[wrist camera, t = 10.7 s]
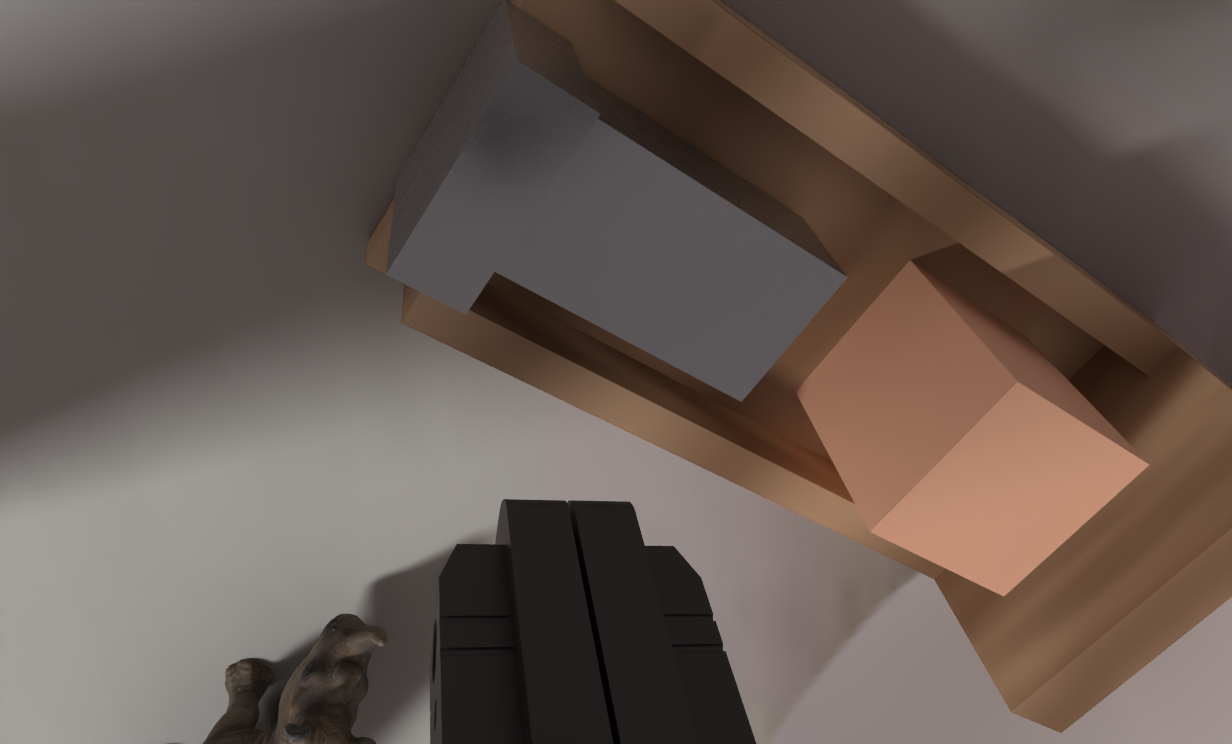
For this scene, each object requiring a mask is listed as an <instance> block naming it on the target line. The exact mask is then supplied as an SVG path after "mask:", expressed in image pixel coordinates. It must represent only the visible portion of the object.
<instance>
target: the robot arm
mask: <svg viewBox="0 0 1232 744" xmlns="http://www.w3.org/2000/svg"><path fill="white" fill-rule="evenodd" d="M430 711H431V714H430V743H431V744H756V742H755V739H754V736H753V733H752V730H751V727H750V724H749V721H748V718H747V715H746V712H745V709H744V706H743V703H742V700H741V696H740V693H739V690H738V687H737V684H736V681H735V678H734V675H733V672H732V669H731V666H730V663H729V660H728V657H727V654H726V651H724V652H723V642H722V639H721V636H720V633H719V630H718V627H717V624H716V621H713V612H712V609H711V606H710V603H709V600H708V597H707V594H706V591H705V588H704V585H703V582H702V579H701V577H700V576H699V575H698V574H697V573H696V571H695V570H694V569H693V568H692V567H691V566H690V565H689V563H688V562H687V561H686V560H685V559H684V558H683V556H682V555H681V554H680V553H679V552H678V551H677V550H676V548H675V547H674V546H645V545H644V542H643V538H642V535H641V531H640V527H639V524H638V520H637V516H636V513H635V510H634V507H633V505H632V504H631V503H630V502H615V501H568V502H567V503H566V501H556V500H510V499H504V500H503V501H502V503H501V507H500V513H499V520H498V528H497V535H496V543H495V545H490V544H457V545H456V547H455V549H454V551H453V553H452V554H451V556H450V558H449V560H448V562H447V563H446V565H445V567H444V569H443V571H442V572H441V574H440V576H439V581H438V591H437V602H436V612H435V623H434V633H433V644H432V654H431V664H430Z"/></svg>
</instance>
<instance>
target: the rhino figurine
mask: <svg viewBox="0 0 1232 744" xmlns="http://www.w3.org/2000/svg"><path fill="white" fill-rule="evenodd" d="M386 642H387V636H386V633H385V631H384V630H383V629H382V628H380V627H377V626H367V625H365V624H364V623H363V622H362V621H361V620H360V618H359V617H357V616H356V615H353V614H340V615H338V616H336V617H335V618H334V619H332V620H331V621H330V622H329V623H328V624H327V626H326V627H325V629H324V630H323V632H322V634H321V635H320V637H319V639H318V640H317V642H316V643H315V645H314V646H313V648H312V649H311V651H310V652H309V654H308V655H307V656H306V657H305V658H304V659H303V660H302V662H301V663H300V664H299V665H298V667H297V668H296V669H295V671H294V672H293V674H292V676H291V677H290V679H289V680H288V682H287V684H286V686H285V688H284V690H283V693H282V695H281V698H280V703H279V706H278V707H277V708H276V710H275V712H274V713H273V715H272V718H271V722H270V729H269V730H267V731H263V730H258V729H254V727H255V725H256V723H257V720H258V718H259V705H258V703H259V700H260V699H261V697H262V696H263V694H264V693H265V692H266V690H267V688H268V686H269V684H270V682H271V680H272V677H273V676H272V672H271V671H270V670H269V669H268V668H267V667H262V666H260V665H259V664H258V662H257V661H255V660H253V659H243V660H240V661H239V662H237V663H235V664H232V665H230V666H229V667H228V668H227V669H226V682H225V686H226V689H227V691H228V693H229V706H228V709H227V712H226V713H225V714H224V715H223V716H222V717H221V719H220V720H219V721H218V722H217V723H216V725H215V726H214V727H213V729H212V730H211V732H210V733H209V735H208V737H207V739H206V740H205V742H204V743H203V744H376V743H375V741H374V740H372V739H370V738H366V737H360V738H355V737H354V736H353V735H352V734H351V727H352V726H353V724H354V722H355V720H356V716H357V708H358V704H359V702H360V701H361V700H362V699H363V698H364V697H365V695H366V693H367V691H368V679H367V674H366V672H367V666H368V662H369V659H370V656H371V653H372V651H373V649H374V648H375V647H376V646H377V645H378V646H384V645H385V644H386Z"/></svg>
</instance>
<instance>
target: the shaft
mask: <svg viewBox="0 0 1232 744" xmlns="http://www.w3.org/2000/svg"><path fill="white" fill-rule="evenodd" d="M494 272H496V273H498V274H500V275H502V276H504V277H506V278H508V279H510V280H511V281H513V282H515V283H517V284H519V285H521V286H523V287H525V288H527V289H528V290H530V291H532V292H534V293H536V294H538V295H540V296H542V297H544V298H546V299H547V300H549V301H551V302H553V303H555V304H557V305H559V306H561V307H563V308H564V309H566V310H568V311H570V312H572V313H574V314H576V315H578V316H580V317H582V318H583V319H585V320H587V321H589V322H591V323H593V324H595V325H597V326H599V327H600V328H602V329H604V330H606V331H608V332H610V333H612V334H614V335H616V336H617V337H619V338H621V339H623V340H625V341H627V342H629V343H631V344H633V345H635V346H636V347H638V348H640V349H642V350H644V351H646V352H648V353H650V354H652V355H653V356H655V357H657V358H659V359H661V360H663V361H665V362H667V363H669V364H670V365H672V366H674V367H676V368H678V369H680V370H682V371H684V372H686V373H688V374H689V375H691V376H693V377H695V378H697V379H699V380H701V381H703V382H705V383H706V384H708V385H710V386H712V387H714V388H716V389H718V390H720V391H722V392H723V393H725V394H727V395H729V396H731V397H733V398H735V399H737V400H739V401H741V402H742V401H743V400H744V399H745V397H746V396H747V395H748V394H749V393H750V391H751V390H752V389H753V388H754V387H755V386H756V384H757V383H758V382H759V381H760V380H761V379H762V377H763V376H764V375H765V374H766V373H767V372H768V370H769V369H770V368H771V367H772V366H773V365H774V363H775V362H776V361H777V360H778V359H779V357H780V356H781V355H782V354H783V353H784V352H785V350H786V349H787V348H788V347H789V346H790V345H791V343H792V342H793V341H794V340H795V339H796V338H797V336H798V335H799V334H800V333H801V332H802V331H803V329H804V328H805V327H806V326H807V325H808V324H809V322H810V321H811V320H812V319H813V318H814V316H815V315H816V314H817V313H818V312H819V311H820V309H821V308H822V307H823V306H824V305H825V304H826V302H827V301H828V300H829V299H830V298H831V297H832V295H833V294H834V293H835V292H836V291H837V290H838V288H839V287H840V286H841V285H842V284H843V282H844V281H845V280H846V279H847V278H848V277H847V276H846V274H845V273H844V272H843V270H842V269H841V268H840V266H839V265H838V264H837V262H836V261H835V260H834V258H833V257H832V256H831V254H830V253H829V252H828V250H827V249H826V247H825V246H824V245H823V243H822V242H821V241H820V239H819V238H818V237H817V235H816V234H815V233H814V231H813V230H812V229H811V227H810V226H809V225H808V223H807V222H806V221H805V219H804V218H803V217H801V216H800V215H798V214H796V213H795V212H793V211H792V210H790V209H789V208H787V207H786V206H784V205H783V204H781V203H780V202H778V201H777V200H775V199H774V198H772V197H770V196H769V195H767V194H766V193H764V192H763V191H761V190H760V189H758V188H757V187H755V186H754V185H752V184H751V183H749V182H747V181H746V180H744V179H743V178H741V177H740V176H738V175H737V174H735V173H734V172H732V171H731V170H729V169H728V168H726V167H725V166H723V165H721V164H720V163H718V162H717V161H715V160H714V159H712V158H711V157H709V156H708V155H706V154H705V153H703V152H702V151H700V150H699V149H697V148H695V147H694V146H692V145H691V144H689V143H688V142H686V141H685V140H683V139H682V138H680V137H679V136H677V135H676V134H674V133H673V132H671V131H669V130H668V129H666V128H665V127H663V126H662V125H660V124H659V123H657V122H656V121H654V120H653V119H651V118H650V117H648V116H647V115H645V114H643V113H642V112H640V111H639V110H637V109H636V108H634V107H633V106H631V105H630V104H628V103H627V102H625V101H624V100H622V99H621V98H619V97H617V96H616V95H614V94H613V93H611V92H610V91H608V90H607V89H605V88H604V87H602V86H601V85H599V84H598V83H596V82H594V81H593V80H591V79H590V78H588V77H587V76H585V74H584V72H583V69H582V67H581V65H580V62H579V60H578V57H577V55H576V52H575V50H574V47H573V45H572V43H571V42H570V41H568V40H567V39H565V38H564V37H562V36H561V35H559V34H558V33H556V32H555V31H553V30H552V29H550V28H549V27H547V26H546V25H544V24H543V23H541V22H540V21H538V20H537V19H535V18H534V17H532V16H531V15H529V14H528V13H526V12H525V11H523V10H522V9H520V8H519V7H517V6H516V5H514V4H513V3H511V2H510V1H508V0H502V2H501V4H500V5H499V7H498V9H497V10H496V12H495V14H494V15H493V17H492V19H491V20H490V22H489V24H488V26H487V27H486V29H485V31H484V32H483V34H482V36H481V37H480V39H479V41H478V42H477V44H476V46H475V47H474V49H473V51H472V52H471V54H470V56H469V58H468V59H467V61H466V63H465V64H464V66H463V68H462V69H461V71H460V73H459V74H458V76H457V78H456V79H455V81H454V83H453V84H452V86H451V88H450V90H449V91H448V93H447V95H446V96H445V98H444V100H443V101H442V103H441V105H440V106H439V108H438V110H437V111H436V113H435V115H434V116H433V118H432V120H431V121H430V123H429V125H428V127H427V128H426V130H425V132H424V133H423V135H422V137H421V138H420V140H419V142H418V143H417V145H416V147H415V148H414V150H413V152H412V153H411V155H410V157H409V159H408V160H407V162H406V164H405V165H404V167H403V169H402V170H401V172H400V174H399V175H398V177H397V180H396V189H395V197H394V206H393V215H392V224H391V233H390V242H389V250H388V259H387V268H386V275H387V276H389V277H391V278H393V279H395V280H397V281H399V282H401V283H403V284H405V285H407V286H409V287H411V288H413V289H415V290H417V291H419V292H421V293H423V294H425V295H427V296H429V297H431V298H433V299H435V300H437V301H439V302H441V303H443V304H445V305H447V306H449V307H451V308H453V309H455V310H457V311H459V312H461V313H463V314H465V315H466V314H467V312H468V311H469V309H470V308H471V306H472V305H473V303H474V302H475V300H476V299H477V297H478V296H479V294H480V293H481V291H482V290H483V288H484V287H485V285H486V284H487V282H488V281H489V279H490V278H491V276H492V275H493V273H494Z"/></svg>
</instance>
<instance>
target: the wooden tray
mask: <svg viewBox="0 0 1232 744" xmlns="http://www.w3.org/2000/svg"><path fill="white" fill-rule="evenodd" d="M511 3H513V4H514V5H516V6H517V7H519V8H520V9H522V10H523V11H525V12H526V13H528V14H529V15H531V16H532V17H534V18H535V19H537V20H538V21H540V22H541V23H543V24H544V25H546V26H547V27H549V28H550V29H552V30H553V31H555V32H556V33H558V34H559V35H561V36H562V37H564V38H565V39H567V40H568V41H570V42H571V43H572V45H573V47H574V50H575V52H576V55H577V57H578V60H579V62H580V65H581V67H582V69H583V72H584V74H585V76H587V77H588V78H590V79H591V80H593V81H594V82H596V83H598V84H599V85H601V86H602V87H604V88H605V89H607V90H608V91H610V92H611V93H613V94H614V95H616V96H617V97H619V98H621V99H622V100H624V101H625V102H627V103H628V104H630V105H631V106H633V107H634V108H636V109H637V110H639V111H640V112H642V113H643V114H645V115H647V116H648V117H650V118H651V119H653V120H654V121H656V122H657V123H659V124H660V125H662V126H663V127H665V128H666V129H668V130H669V131H671V132H673V133H674V134H676V135H677V136H679V137H680V138H682V139H683V140H685V141H686V142H688V143H689V144H691V145H692V146H694V147H695V148H697V149H699V150H700V151H702V152H703V153H705V154H706V155H708V156H709V157H711V158H712V159H714V160H715V161H717V162H718V163H720V164H721V165H723V166H725V167H726V168H728V169H729V170H731V171H732V172H734V173H735V174H737V175H738V176H740V177H741V178H743V179H744V180H746V181H747V182H749V183H751V184H752V185H754V186H755V187H757V188H758V189H760V190H761V191H763V192H764V193H766V194H767V195H769V196H770V197H772V198H774V199H775V200H777V201H778V202H780V203H781V204H783V205H784V206H786V207H787V208H789V209H790V210H792V211H793V212H795V213H796V214H798V215H800V216H801V217H803V218H804V219H805V221H806V222H807V223H808V225H809V226H810V227H811V229H812V230H813V231H814V233H815V234H816V235H817V237H818V238H819V239H820V241H821V242H822V243H823V245H824V246H825V247H826V249H827V250H828V252H829V253H830V254H831V256H832V257H833V258H834V260H835V261H836V262H837V264H838V265H839V266H840V268H841V269H842V270H843V272H844V273H845V274H846V276H847V277H848V278H847V279H846V280H845V281H844V282H843V284H842V285H841V286H840V287H839V288H838V290H837V291H836V292H835V293H834V294H833V295H832V297H831V298H830V299H829V300H828V301H827V302H826V304H825V305H824V306H823V307H822V308H821V309H820V311H819V312H818V313H817V314H816V315H815V316H814V318H813V319H812V320H811V321H810V322H809V324H808V325H807V326H806V327H805V328H804V329H803V331H802V332H801V333H800V334H799V335H798V336H797V338H796V339H795V340H794V341H793V342H792V343H791V345H790V346H789V347H788V348H787V349H786V350H785V352H784V353H783V354H782V355H781V356H780V357H779V359H778V360H777V361H776V362H775V363H774V365H773V366H772V367H771V368H770V369H769V370H768V372H767V373H766V374H765V375H764V376H763V377H762V379H761V380H760V381H759V382H758V383H757V384H756V386H755V387H754V388H753V389H752V390H751V391H750V393H749V394H748V395H747V396H746V397H745V399H744V400H743V401H742V402H741V401H739V400H737V399H735V398H733V397H731V396H729V395H727V394H725V393H723V392H722V391H720V390H718V389H716V388H714V387H712V386H710V385H708V384H706V383H705V382H703V381H701V380H699V379H697V378H695V377H693V376H691V375H689V374H688V373H686V372H684V371H682V370H680V369H678V368H676V367H674V366H672V365H670V364H669V363H667V362H665V361H663V360H661V359H659V358H657V357H655V356H653V355H652V354H650V353H648V352H646V351H644V350H642V349H640V348H638V347H636V346H635V345H633V344H631V343H629V342H627V341H625V340H623V339H621V338H619V337H617V336H616V335H614V334H612V333H610V332H608V331H606V330H604V329H602V328H600V327H599V326H597V325H595V324H593V323H591V322H589V321H587V320H585V319H583V318H582V317H580V316H578V315H576V314H574V313H572V312H570V311H568V310H566V309H564V308H563V307H561V306H559V305H557V304H555V303H553V302H551V301H549V300H547V299H546V298H544V297H542V296H540V295H538V294H536V293H534V292H532V291H530V290H528V289H527V288H525V287H523V286H521V285H519V284H517V283H515V282H513V281H511V280H510V279H508V278H506V277H504V276H502V275H500V274H498V273H496V272H494V273H493V275H492V276H491V278H490V279H489V281H488V282H487V284H486V285H485V287H484V288H483V290H482V291H481V293H480V294H479V296H478V297H477V299H476V300H475V302H474V303H473V305H472V306H471V308H470V309H469V311H468V312H467V314H466V315H465V314H463V313H461V312H459V311H457V310H455V309H453V308H451V307H449V306H447V305H445V304H443V303H441V302H439V301H437V300H435V299H433V298H431V297H429V296H427V295H425V294H423V293H421V292H419V291H417V290H415V289H413V288H411V287H409V286H407V285H405V284H404V294H403V307H402V320H401V323H403V324H405V325H407V326H409V327H411V328H413V329H415V330H417V331H419V332H421V333H424V334H426V335H428V336H430V337H432V338H434V339H436V340H438V341H440V342H442V343H444V344H446V345H448V346H451V347H453V348H455V349H457V350H459V351H461V352H463V353H465V354H467V355H469V356H471V357H473V358H476V359H478V360H480V361H482V362H484V363H486V364H488V365H490V366H492V367H494V368H496V369H498V370H500V371H503V372H505V373H507V374H509V375H511V376H513V377H515V378H517V379H519V380H521V381H523V382H525V383H527V384H530V385H532V386H534V387H536V388H538V389H540V390H542V391H544V392H546V393H548V394H550V395H552V396H555V397H557V398H559V399H561V400H563V401H565V402H567V403H569V404H571V405H573V406H575V407H577V408H579V409H582V410H584V411H586V412H588V413H590V414H592V415H594V416H596V417H598V418H600V419H602V420H604V421H606V422H609V423H611V424H613V425H615V426H617V427H619V428H621V429H623V430H625V431H627V432H629V433H631V434H634V435H636V436H638V437H640V438H642V439H644V440H646V441H648V442H650V443H652V444H654V445H656V446H658V447H661V448H663V449H665V450H667V451H669V452H671V453H673V454H675V455H677V456H679V457H681V458H683V459H685V460H688V461H690V462H692V463H694V464H696V465H698V466H700V467H702V468H704V469H706V470H708V471H710V472H712V473H715V474H717V475H719V476H721V477H723V478H725V479H727V480H729V481H731V482H733V483H735V484H737V485H740V486H742V487H744V488H746V489H748V490H750V491H752V492H754V493H756V494H758V495H760V496H762V497H764V498H767V499H769V500H771V501H773V502H775V503H777V504H779V505H781V506H783V507H785V508H787V509H789V510H791V511H794V512H796V513H798V514H800V515H802V516H804V517H806V518H808V519H810V520H812V521H814V522H816V523H819V524H821V525H823V526H825V527H827V528H829V529H831V530H833V531H835V532H837V533H839V534H841V535H843V536H846V537H848V538H850V539H852V540H854V541H856V542H858V543H860V544H862V545H864V546H866V547H868V548H870V549H873V550H875V551H877V552H879V553H881V554H883V555H885V556H887V557H889V558H891V559H893V560H895V561H898V562H900V563H902V564H904V565H906V566H908V567H910V568H912V569H914V570H916V571H918V572H920V573H922V574H925V575H927V576H929V577H931V578H933V579H934V580H935V581H936V583H937V585H938V586H939V588H940V590H941V591H942V593H943V595H944V597H945V598H946V600H947V602H948V604H949V605H950V607H951V609H952V611H953V612H954V614H955V616H956V618H957V619H958V621H959V623H960V624H961V626H962V628H963V630H964V631H965V633H966V635H967V636H968V638H969V640H970V642H971V643H972V645H973V647H974V649H975V650H976V652H977V654H978V656H979V657H980V659H981V661H982V662H983V664H984V666H985V668H986V669H987V671H988V673H989V674H990V676H991V678H992V680H993V681H994V683H995V685H996V687H997V688H998V690H999V692H1000V694H1001V695H1002V697H1003V699H1004V700H1005V702H1006V704H1007V705H1008V707H1009V709H1010V711H1011V712H1013V713H1015V714H1017V715H1020V716H1022V717H1025V718H1027V719H1029V720H1032V721H1034V722H1036V723H1039V724H1041V725H1044V726H1046V727H1048V728H1051V729H1053V730H1056V731H1058V732H1060V733H1062V732H1063V731H1064V730H1065V729H1067V728H1068V727H1069V726H1070V725H1072V724H1073V723H1074V722H1075V721H1077V720H1078V719H1079V718H1080V717H1082V716H1083V715H1084V714H1085V713H1087V712H1088V711H1089V710H1090V709H1092V708H1093V707H1094V706H1096V705H1097V704H1098V703H1099V702H1101V701H1102V700H1103V699H1104V698H1105V697H1107V696H1108V695H1109V694H1111V693H1112V692H1113V691H1114V690H1115V689H1117V688H1118V687H1119V686H1121V685H1122V684H1123V683H1124V682H1125V681H1127V680H1128V679H1129V678H1130V677H1132V676H1133V675H1134V674H1136V673H1137V672H1138V671H1139V670H1141V669H1142V668H1143V667H1144V666H1146V665H1147V664H1148V663H1149V662H1151V661H1152V660H1153V659H1154V658H1156V657H1157V656H1158V655H1159V654H1161V653H1162V652H1163V651H1164V650H1166V649H1167V648H1168V647H1169V646H1171V645H1172V644H1173V643H1174V642H1176V641H1177V640H1178V639H1179V638H1181V637H1182V636H1183V635H1184V634H1186V633H1187V632H1188V631H1189V630H1191V629H1192V628H1193V627H1194V626H1195V625H1197V624H1198V623H1199V622H1201V621H1202V620H1203V619H1204V618H1206V617H1207V616H1208V615H1209V614H1211V613H1212V612H1213V611H1214V610H1216V609H1217V608H1218V607H1219V606H1221V605H1222V604H1223V603H1224V602H1226V601H1227V600H1228V599H1229V598H1231V597H1232V386H1231V385H1229V384H1228V383H1227V382H1226V381H1224V380H1223V379H1222V378H1221V377H1220V376H1218V375H1217V374H1216V373H1215V372H1214V371H1212V370H1211V369H1210V368H1209V367H1208V366H1206V365H1205V364H1204V363H1203V362H1201V361H1200V360H1199V359H1198V358H1197V357H1195V356H1194V355H1193V354H1192V353H1191V352H1189V351H1188V350H1187V349H1186V348H1185V347H1183V346H1182V345H1181V344H1180V343H1179V342H1177V341H1176V340H1175V339H1174V338H1172V337H1171V336H1170V335H1169V334H1168V333H1166V332H1165V331H1164V330H1163V329H1162V328H1160V327H1159V326H1158V325H1157V324H1156V323H1154V322H1153V321H1152V320H1150V319H1149V318H1148V317H1146V316H1145V315H1144V314H1142V313H1141V312H1140V311H1138V310H1137V309H1136V308H1134V307H1133V306H1131V305H1130V304H1129V303H1127V302H1126V301H1125V300H1123V299H1122V298H1121V297H1119V296H1118V295H1117V294H1115V293H1114V292H1113V291H1111V290H1110V289H1109V288H1107V287H1106V286H1105V285H1103V284H1102V283H1101V282H1099V281H1098V280H1097V279H1095V278H1094V277H1093V276H1091V275H1090V274H1089V273H1087V272H1086V271H1084V270H1083V269H1082V268H1080V267H1079V266H1078V265H1076V264H1075V263H1074V262H1072V261H1071V260H1070V259H1068V258H1067V257H1066V256H1064V255H1063V254H1062V253H1060V252H1059V251H1058V250H1056V249H1055V248H1054V247H1052V246H1051V245H1050V244H1048V243H1047V242H1046V241H1044V240H1043V239H1041V238H1040V237H1039V236H1037V235H1036V234H1035V233H1033V232H1032V231H1031V230H1029V229H1028V228H1027V227H1025V226H1024V225H1023V224H1021V223H1020V222H1019V221H1017V220H1016V219H1015V218H1013V217H1012V216H1011V215H1009V214H1008V213H1007V212H1005V211H1004V210H1003V209H1001V208H1000V207H998V206H997V205H996V204H994V203H993V202H992V201H990V200H989V199H988V198H986V197H985V196H984V195H982V194H981V193H980V192H978V191H977V190H976V189H974V188H973V187H972V186H970V185H969V184H968V183H966V182H965V181H964V180H962V179H961V178H960V177H958V176H957V175H955V174H954V173H953V172H951V171H950V170H949V169H947V168H946V167H945V166H943V165H942V164H941V163H939V162H938V161H937V160H935V159H934V158H933V157H931V156H930V155H929V154H927V153H926V152H925V151H923V150H922V149H921V148H919V147H918V146H917V145H915V144H914V143H912V142H911V141H910V140H908V139H907V138H906V137H904V136H903V135H902V134H900V133H899V132H898V131H896V130H895V129H894V128H892V127H891V126H890V125H888V124H887V123H886V122H884V121H883V120H882V119H880V118H879V117H878V116H876V115H875V114H874V113H872V112H871V111H869V110H868V109H867V108H865V107H864V106H863V105H861V104H860V103H859V102H857V101H856V100H855V99H853V98H852V97H851V96H849V95H848V94H847V93H845V92H844V91H843V90H841V89H840V88H839V87H837V86H836V85H835V84H833V83H832V82H831V81H829V80H828V79H827V78H825V77H824V76H822V75H821V74H820V73H818V72H817V71H816V70H814V69H813V68H812V67H810V66H809V65H808V64H806V63H805V62H804V61H802V60H801V59H800V58H798V57H797V56H796V55H794V54H793V53H792V52H790V51H789V50H788V49H786V48H785V47H784V46H782V45H781V44H779V43H778V42H777V41H775V40H774V39H773V38H771V37H770V36H769V35H767V34H766V33H765V32H763V31H762V30H761V29H759V28H758V27H757V26H755V25H754V24H753V23H751V22H750V21H749V20H747V19H746V18H745V17H743V16H742V15H741V14H739V13H738V12H736V11H735V10H734V9H732V8H731V7H730V6H728V5H727V4H726V3H724V2H723V1H722V0H512V2H511ZM393 206H394V199H393V201H392V202H391V204H390V206H389V207H388V209H387V211H386V212H385V214H384V216H383V217H382V219H381V221H380V222H379V224H378V226H377V227H376V229H375V231H374V232H373V234H372V236H371V237H370V239H369V241H368V245H367V252H366V258H365V265H367V266H369V267H371V268H373V269H375V270H377V271H379V272H381V273H383V274H385V275H386V268H387V259H388V250H389V242H390V233H391V224H392V215H393ZM910 260H911V261H912V262H914V263H915V264H917V265H918V266H920V267H921V268H923V269H924V270H926V271H927V272H929V273H930V274H932V275H933V276H935V277H936V278H938V279H939V280H941V281H942V282H944V283H945V284H947V285H948V286H950V287H951V288H953V289H954V290H956V291H957V292H959V293H960V294H962V295H963V296H965V297H967V298H968V299H970V300H971V301H973V302H974V303H976V304H977V305H979V306H980V307H982V308H983V309H985V310H986V311H988V312H989V313H991V314H992V315H994V316H995V317H997V318H998V319H1000V320H1001V321H1003V322H1004V323H1006V324H1007V325H1009V326H1010V327H1012V328H1013V329H1015V330H1016V331H1018V332H1019V333H1021V334H1023V335H1024V336H1026V337H1027V338H1028V339H1029V340H1030V341H1031V342H1032V343H1033V344H1034V345H1035V347H1036V348H1037V349H1038V350H1039V351H1040V352H1041V353H1042V354H1043V355H1044V356H1045V357H1046V358H1047V359H1048V360H1049V361H1050V362H1051V363H1052V364H1053V365H1054V366H1055V367H1056V368H1057V369H1058V370H1059V371H1060V372H1061V373H1062V374H1063V375H1064V377H1065V378H1066V379H1067V380H1068V381H1069V382H1070V383H1071V384H1072V385H1073V386H1074V387H1075V388H1076V389H1077V390H1078V391H1079V392H1080V393H1081V394H1082V395H1083V396H1084V397H1085V398H1086V399H1087V400H1088V401H1089V402H1090V403H1091V404H1092V406H1093V407H1094V408H1095V409H1096V410H1097V411H1098V412H1099V413H1100V414H1101V415H1102V416H1103V417H1104V418H1105V419H1106V420H1107V421H1108V422H1109V423H1110V424H1111V425H1112V426H1113V427H1114V428H1115V429H1116V430H1117V431H1118V432H1119V433H1120V434H1121V436H1122V437H1123V438H1124V439H1125V440H1126V441H1127V442H1128V443H1129V444H1130V445H1131V446H1132V447H1133V448H1134V449H1135V450H1136V451H1137V452H1138V453H1139V454H1140V455H1141V456H1142V457H1143V458H1144V459H1145V460H1146V461H1147V462H1148V463H1149V464H1150V465H1149V466H1148V467H1147V468H1146V469H1144V470H1143V471H1142V472H1141V473H1140V474H1139V475H1138V476H1137V477H1136V478H1134V479H1133V480H1132V481H1131V482H1130V483H1129V484H1128V485H1127V486H1126V487H1125V488H1123V489H1122V490H1121V491H1120V492H1119V493H1118V494H1117V495H1116V496H1115V497H1113V498H1112V499H1111V500H1110V501H1109V502H1108V503H1107V504H1106V505H1105V506H1104V507H1102V508H1101V509H1100V510H1099V511H1098V512H1097V513H1096V514H1095V515H1094V516H1092V517H1091V518H1090V519H1089V520H1088V521H1087V522H1086V523H1085V524H1084V525H1083V526H1081V527H1080V528H1079V529H1078V530H1077V531H1076V532H1075V533H1074V534H1073V535H1072V536H1070V537H1069V538H1068V539H1067V540H1066V541H1065V542H1064V543H1063V544H1062V545H1060V546H1059V547H1058V548H1057V549H1056V550H1055V551H1054V552H1053V553H1052V554H1051V555H1049V556H1048V557H1047V558H1046V559H1045V560H1044V561H1043V562H1042V563H1041V564H1039V565H1038V566H1037V567H1036V568H1035V569H1034V570H1033V571H1032V572H1031V573H1030V574H1028V575H1027V576H1026V577H1025V578H1024V579H1023V580H1022V581H1021V582H1020V583H1018V584H1017V585H1016V586H1015V587H1014V588H1013V589H1012V590H1011V591H1010V592H1009V593H1007V594H1006V595H1005V596H1002V595H999V594H997V593H995V592H993V591H991V590H989V589H987V588H985V587H983V586H981V585H979V584H977V583H975V582H973V581H970V580H968V579H966V578H964V577H962V576H960V575H958V574H956V573H954V572H952V571H950V570H948V569H946V568H944V567H941V566H939V565H937V564H935V563H933V562H931V561H929V560H927V559H925V558H923V557H921V556H919V555H917V554H915V553H913V552H910V551H908V550H906V549H904V548H902V547H900V546H898V545H896V544H894V543H892V542H890V541H888V540H886V539H884V538H881V537H879V536H877V535H875V534H873V533H871V532H870V531H869V529H868V527H867V525H866V523H865V522H864V520H863V518H862V516H861V514H860V512H859V510H858V508H857V507H856V505H855V503H854V501H853V499H852V497H851V495H850V493H849V491H848V490H847V488H846V486H845V484H844V482H843V480H842V478H841V476H840V475H839V473H838V471H837V469H836V467H835V465H834V463H833V461H832V460H831V458H830V456H829V454H828V452H827V450H826V448H825V446H824V445H823V443H822V441H821V439H820V437H819V435H818V433H817V431H816V430H815V428H814V426H813V424H812V422H811V420H810V418H809V416H808V415H807V413H806V411H805V409H804V407H803V405H802V403H801V401H800V400H799V398H798V396H797V394H796V391H797V389H798V388H799V387H800V386H801V385H802V384H803V382H804V381H805V380H806V379H807V378H808V377H809V376H810V374H811V373H812V372H813V371H814V370H815V369H816V368H817V366H818V365H819V364H820V363H821V362H822V361H823V359H824V358H825V357H826V356H827V355H828V354H829V353H830V351H831V350H832V349H833V348H834V347H835V346H836V345H837V343H838V342H839V341H840V340H841V339H842V338H843V336H844V335H845V334H846V333H847V332H848V331H849V330H850V328H851V327H852V326H853V325H854V324H855V323H856V322H857V320H858V319H859V318H860V317H861V316H862V315H863V313H864V312H865V311H866V310H867V309H868V308H869V307H870V305H871V304H872V303H873V302H874V301H875V300H876V299H877V297H878V296H879V295H880V294H881V293H882V292H883V290H884V289H885V288H886V287H887V286H888V285H889V284H890V282H891V281H892V280H893V279H894V278H895V277H896V276H897V274H898V273H899V272H900V271H901V270H902V269H903V267H904V266H905V265H906V264H907V263H908V262H909V261H910Z"/></svg>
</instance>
